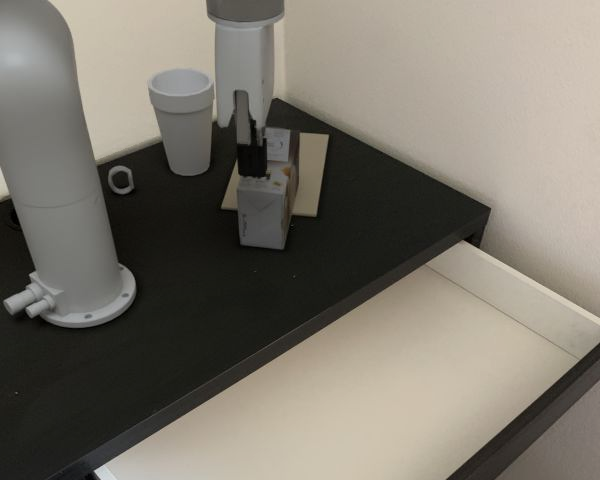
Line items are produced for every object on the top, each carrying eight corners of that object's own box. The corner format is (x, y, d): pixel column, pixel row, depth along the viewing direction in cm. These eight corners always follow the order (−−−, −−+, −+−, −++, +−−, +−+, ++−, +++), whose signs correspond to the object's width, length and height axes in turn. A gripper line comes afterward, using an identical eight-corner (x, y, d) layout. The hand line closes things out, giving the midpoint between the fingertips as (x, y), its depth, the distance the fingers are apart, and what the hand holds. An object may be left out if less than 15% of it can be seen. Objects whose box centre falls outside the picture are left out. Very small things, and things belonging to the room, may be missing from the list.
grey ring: (111, 197, 98) (106, 172, 95) (109, 189, 100) (105, 164, 97) (135, 194, 99) (131, 169, 96) (134, 186, 100) (130, 162, 97)
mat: (316, 216, 96) (316, 214, 96) (221, 209, 97) (221, 206, 97) (328, 137, 112) (328, 134, 112) (247, 130, 113) (246, 128, 113)
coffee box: (285, 194, 84) (301, 127, 94) (235, 189, 84) (256, 123, 94) (284, 251, 91) (299, 183, 101) (238, 246, 91) (258, 179, 101)
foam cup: (209, 184, 101) (201, 99, 92) (151, 176, 102) (137, 92, 93) (225, 154, 107) (220, 71, 98) (171, 147, 109) (160, 64, 99)
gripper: (220, -31, 68) (232, 139, 82) (189, 24, 58) (208, 206, 72) (293, -27, 68) (292, 143, 81) (274, 29, 58) (276, 211, 72)
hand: (253, 172), depth 77 cm, fingers closed
